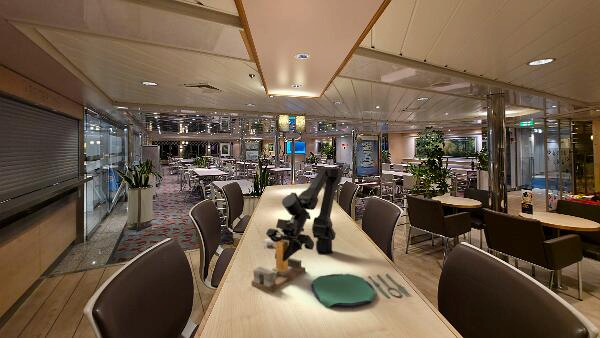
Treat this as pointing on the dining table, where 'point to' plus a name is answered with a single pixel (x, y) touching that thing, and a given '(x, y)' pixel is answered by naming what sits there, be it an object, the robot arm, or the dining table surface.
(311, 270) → the dining table surface
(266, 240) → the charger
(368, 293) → the cutlery set
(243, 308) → the dining table surface
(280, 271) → the orange wooden beam
